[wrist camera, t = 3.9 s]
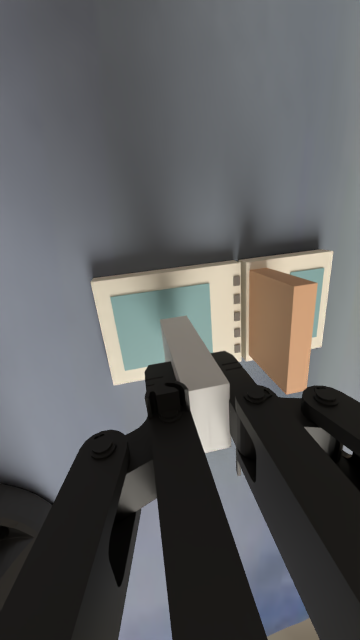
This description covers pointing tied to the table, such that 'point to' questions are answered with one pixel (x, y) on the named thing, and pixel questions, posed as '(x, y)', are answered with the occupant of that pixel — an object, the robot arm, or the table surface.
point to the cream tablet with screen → (167, 312)
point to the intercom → (284, 313)
